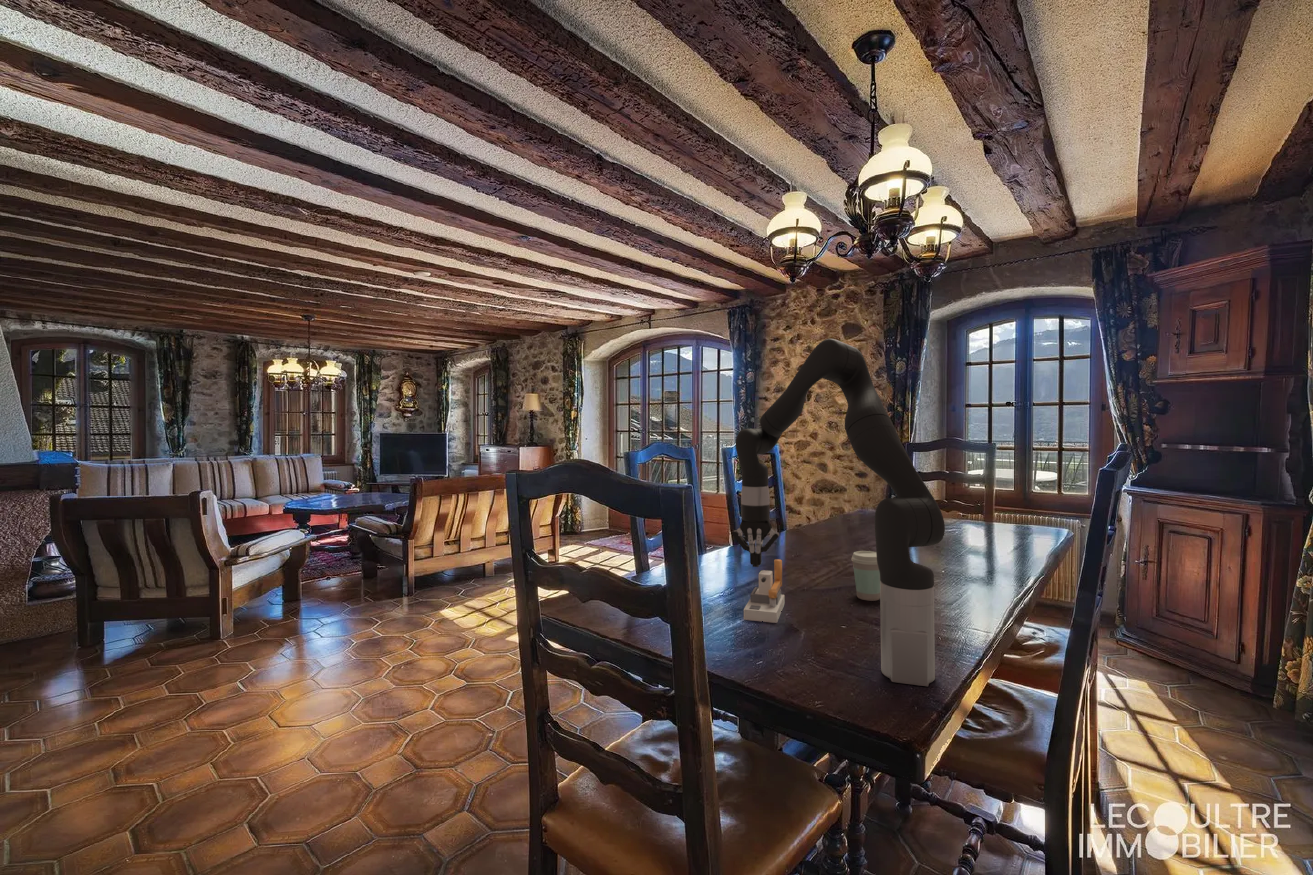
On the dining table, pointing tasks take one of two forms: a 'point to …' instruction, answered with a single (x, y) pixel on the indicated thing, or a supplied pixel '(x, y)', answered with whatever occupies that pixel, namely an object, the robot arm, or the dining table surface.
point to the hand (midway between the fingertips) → (756, 566)
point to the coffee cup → (866, 575)
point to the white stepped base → (764, 607)
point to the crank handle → (776, 578)
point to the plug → (765, 582)
